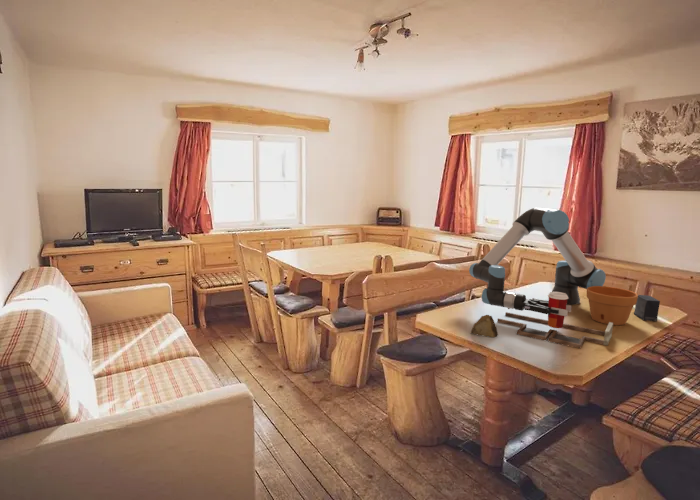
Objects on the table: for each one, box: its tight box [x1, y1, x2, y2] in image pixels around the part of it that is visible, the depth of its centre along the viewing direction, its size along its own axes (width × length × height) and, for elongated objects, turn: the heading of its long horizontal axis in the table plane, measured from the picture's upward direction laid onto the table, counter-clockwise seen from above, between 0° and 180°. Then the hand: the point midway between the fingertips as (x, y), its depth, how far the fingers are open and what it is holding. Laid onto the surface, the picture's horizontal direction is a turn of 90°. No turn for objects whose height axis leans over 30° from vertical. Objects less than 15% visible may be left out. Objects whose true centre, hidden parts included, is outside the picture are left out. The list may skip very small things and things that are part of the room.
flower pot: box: [586, 285, 639, 326], centre depth 204 cm, size 21×21×15 cm
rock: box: [470, 314, 499, 338], centre depth 185 cm, size 11×9×10 cm
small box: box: [633, 294, 661, 322], centre depth 209 cm, size 11×6×10 cm, turn 168°
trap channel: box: [497, 311, 614, 349], centre depth 188 cm, size 46×24×6 cm, turn 53°
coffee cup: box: [547, 291, 568, 329], centre depth 189 cm, size 8×8×15 cm
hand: (569, 311), depth 185 cm, fingers closed on coffee cup, 7 cm apart
